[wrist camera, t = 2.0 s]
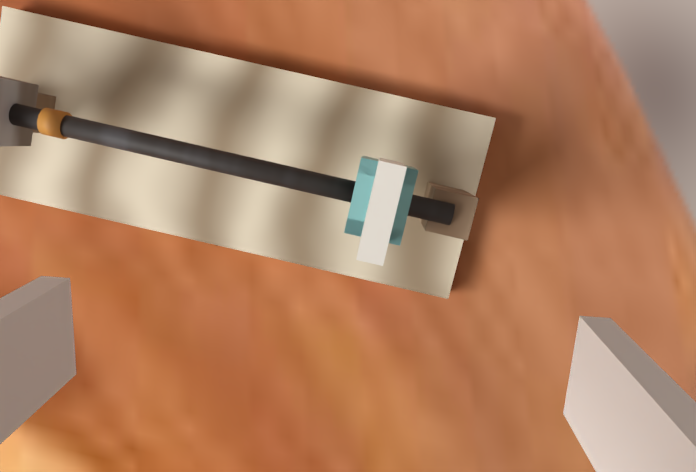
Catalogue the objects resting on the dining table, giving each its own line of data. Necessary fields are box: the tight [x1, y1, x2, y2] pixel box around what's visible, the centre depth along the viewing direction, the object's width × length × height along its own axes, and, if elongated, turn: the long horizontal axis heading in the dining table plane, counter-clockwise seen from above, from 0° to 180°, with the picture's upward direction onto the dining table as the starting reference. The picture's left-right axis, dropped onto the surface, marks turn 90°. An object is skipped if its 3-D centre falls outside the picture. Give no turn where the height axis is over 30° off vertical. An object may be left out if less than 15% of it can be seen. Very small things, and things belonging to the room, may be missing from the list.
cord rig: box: [0, 6, 496, 299], centre depth 34 cm, size 32×12×9 cm, turn 78°
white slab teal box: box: [344, 156, 419, 266], centre depth 29 cm, size 3×4×9 cm
